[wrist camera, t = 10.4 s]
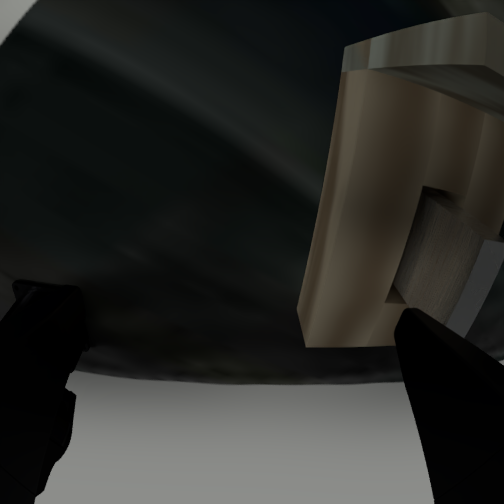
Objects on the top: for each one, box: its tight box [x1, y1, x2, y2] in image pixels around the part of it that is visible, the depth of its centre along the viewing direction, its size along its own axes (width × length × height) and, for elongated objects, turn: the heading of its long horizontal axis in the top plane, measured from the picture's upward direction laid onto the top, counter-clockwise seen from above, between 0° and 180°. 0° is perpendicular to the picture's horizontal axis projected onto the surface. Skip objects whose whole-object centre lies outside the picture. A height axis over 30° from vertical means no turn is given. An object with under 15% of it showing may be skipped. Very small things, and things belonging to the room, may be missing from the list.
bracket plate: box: [392, 186, 504, 338], centre depth 16 cm, size 2×6×8 cm, turn 173°
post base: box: [297, 12, 504, 347], centre depth 14 cm, size 12×18×12 cm, turn 174°
